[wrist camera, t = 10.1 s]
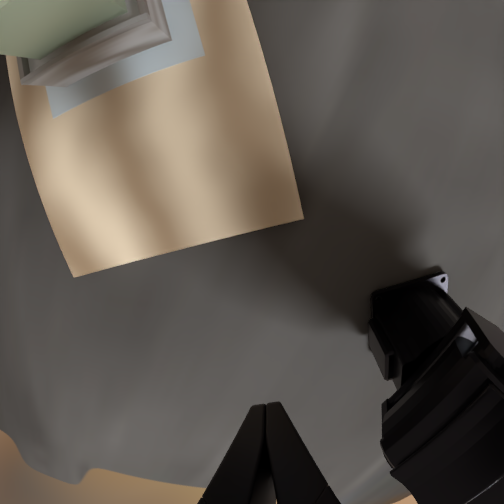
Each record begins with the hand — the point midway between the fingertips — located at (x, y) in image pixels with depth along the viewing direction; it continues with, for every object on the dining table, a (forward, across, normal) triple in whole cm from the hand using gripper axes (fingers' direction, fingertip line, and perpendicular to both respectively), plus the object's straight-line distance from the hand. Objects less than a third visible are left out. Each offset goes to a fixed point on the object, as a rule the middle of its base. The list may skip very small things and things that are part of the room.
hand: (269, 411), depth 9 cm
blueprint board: (+13, +5, -11) cm, 18 cm away
